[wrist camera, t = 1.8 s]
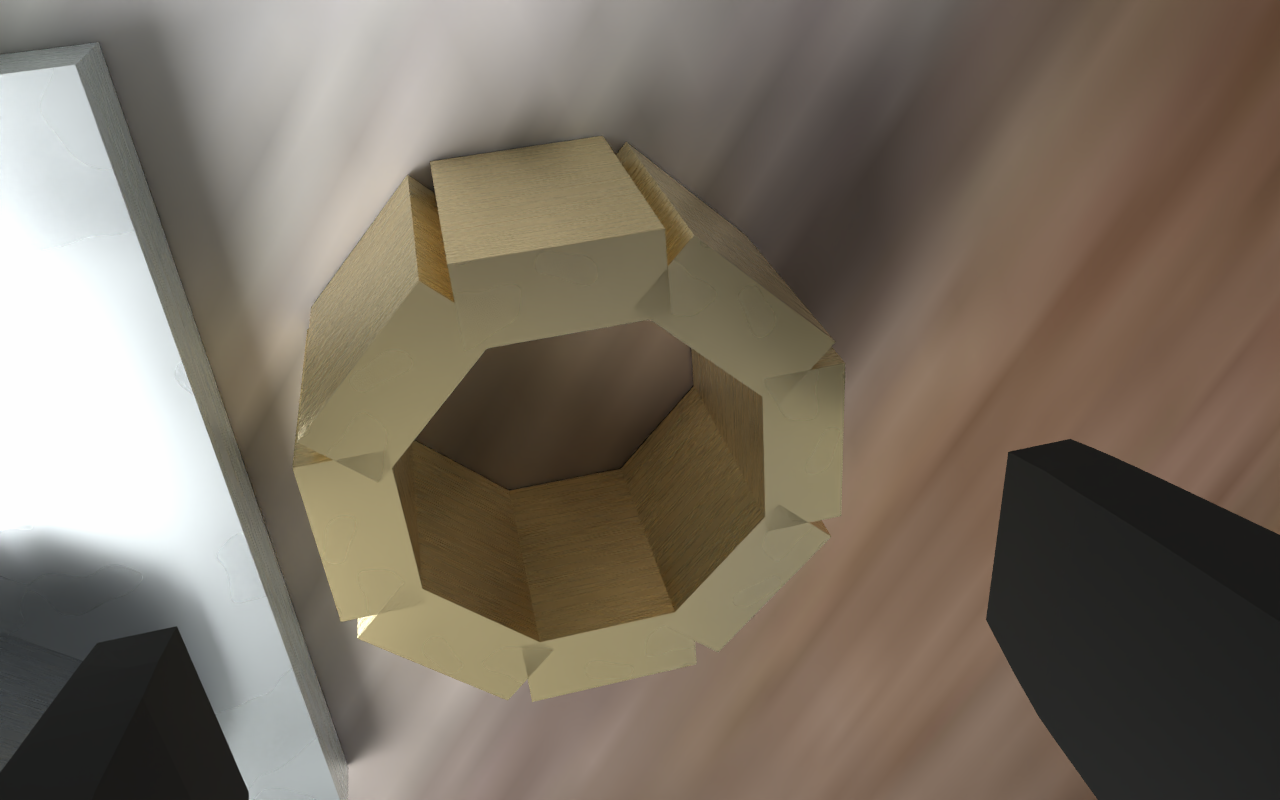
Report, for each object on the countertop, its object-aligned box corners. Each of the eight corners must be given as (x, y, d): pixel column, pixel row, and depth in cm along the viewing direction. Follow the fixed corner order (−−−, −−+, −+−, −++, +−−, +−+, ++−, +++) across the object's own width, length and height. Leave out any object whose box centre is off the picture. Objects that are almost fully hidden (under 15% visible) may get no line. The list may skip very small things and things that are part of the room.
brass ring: (750, 114, 12) (849, 198, 10) (759, 491, 15) (838, 631, 13) (267, 185, 11) (239, 299, 9) (375, 571, 14) (376, 737, 12)
